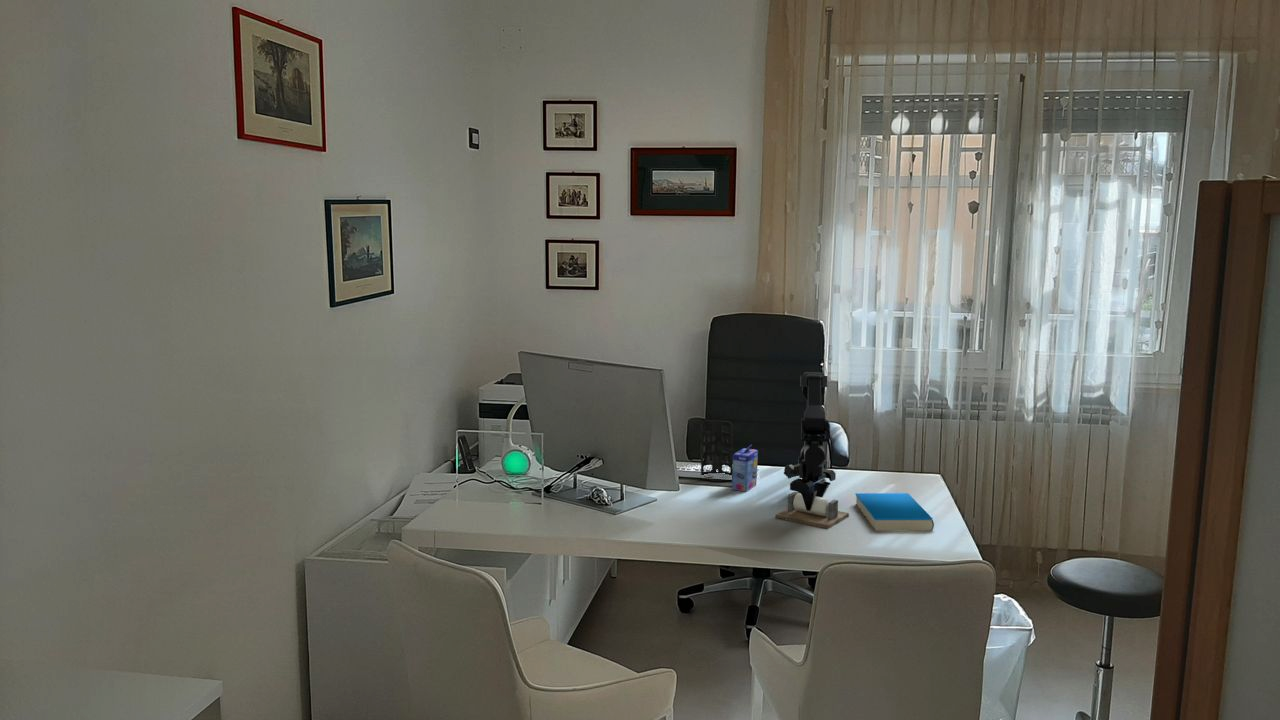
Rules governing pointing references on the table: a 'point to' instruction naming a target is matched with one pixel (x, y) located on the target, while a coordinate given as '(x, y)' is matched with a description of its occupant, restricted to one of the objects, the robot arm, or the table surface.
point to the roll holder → (813, 514)
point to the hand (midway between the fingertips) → (812, 508)
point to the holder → (716, 447)
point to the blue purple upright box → (744, 469)
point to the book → (893, 511)
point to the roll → (818, 505)
